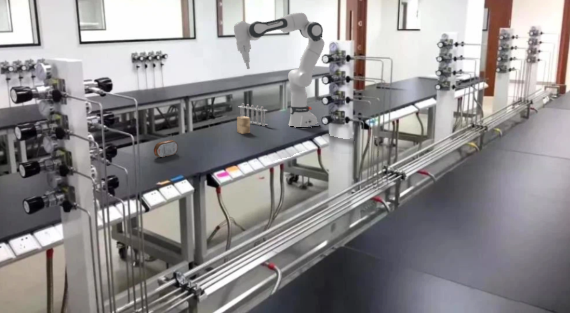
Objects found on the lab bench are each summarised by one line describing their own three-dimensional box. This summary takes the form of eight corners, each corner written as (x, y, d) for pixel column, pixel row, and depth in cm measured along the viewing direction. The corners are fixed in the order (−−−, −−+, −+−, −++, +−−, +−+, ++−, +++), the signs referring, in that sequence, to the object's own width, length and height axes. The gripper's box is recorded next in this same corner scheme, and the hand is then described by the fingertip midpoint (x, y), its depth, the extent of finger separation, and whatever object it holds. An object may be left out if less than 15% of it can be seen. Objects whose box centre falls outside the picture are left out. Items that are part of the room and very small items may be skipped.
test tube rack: (267, 125, 362) (268, 106, 358) (263, 126, 359) (264, 107, 355) (241, 120, 377) (241, 102, 373) (237, 121, 373) (237, 103, 370)
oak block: (244, 130, 340) (244, 116, 337) (249, 132, 335) (249, 117, 332) (237, 132, 336) (237, 117, 334) (242, 133, 332) (241, 118, 329)
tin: (175, 152, 289) (175, 138, 287) (179, 153, 287) (178, 139, 285) (153, 158, 278) (152, 143, 276) (157, 159, 276) (156, 144, 274)
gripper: (248, 43, 324) (252, 65, 325) (249, 48, 344) (253, 68, 345) (238, 45, 324) (243, 67, 325) (239, 50, 344) (243, 70, 345)
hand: (248, 68), depth 335 cm, fingers open, 8 cm apart
